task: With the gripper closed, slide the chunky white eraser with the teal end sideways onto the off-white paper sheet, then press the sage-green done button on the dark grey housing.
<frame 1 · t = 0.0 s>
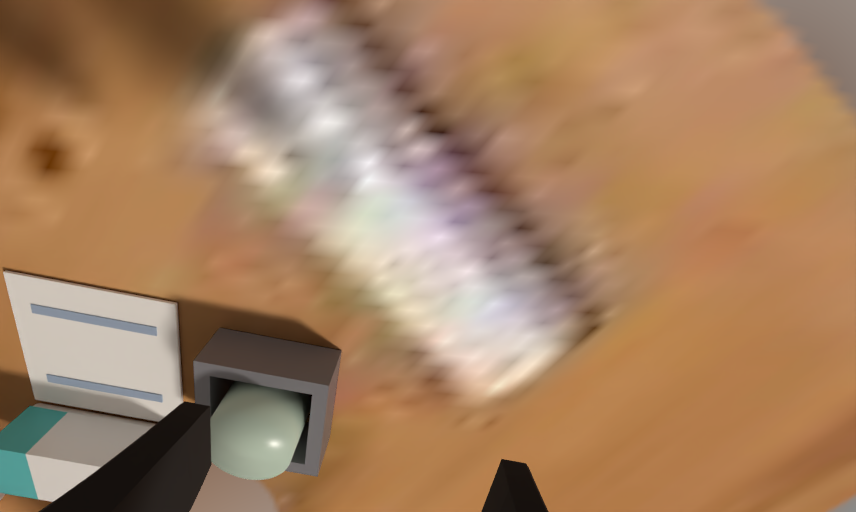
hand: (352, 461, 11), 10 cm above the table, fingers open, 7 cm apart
button housing: (278, 385, 24), on the table
eraser: (117, 431, 26), on the table
paper: (102, 353, 23), on the table
done button: (259, 422, 21), point 2 cm above the table, slide at 0.0 cm
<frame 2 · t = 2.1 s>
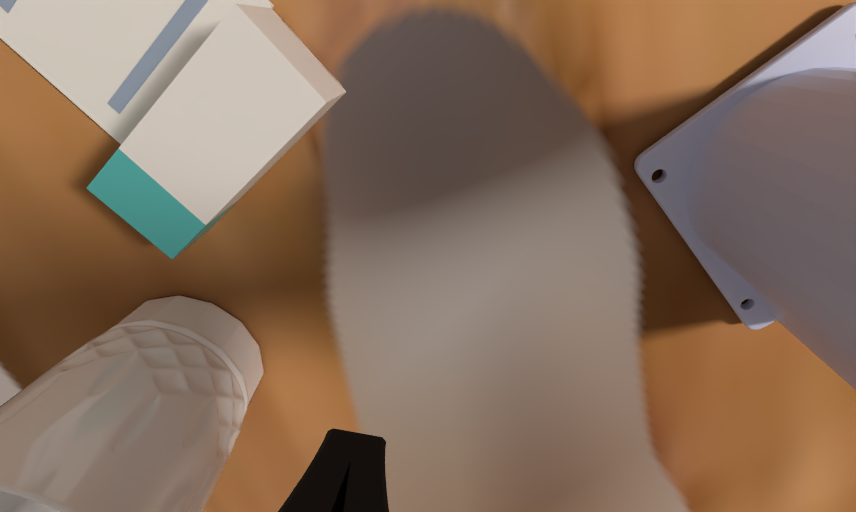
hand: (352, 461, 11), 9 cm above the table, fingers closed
eraser: (244, 127, 17), on the table
white cup: (197, 351, 22), on the table
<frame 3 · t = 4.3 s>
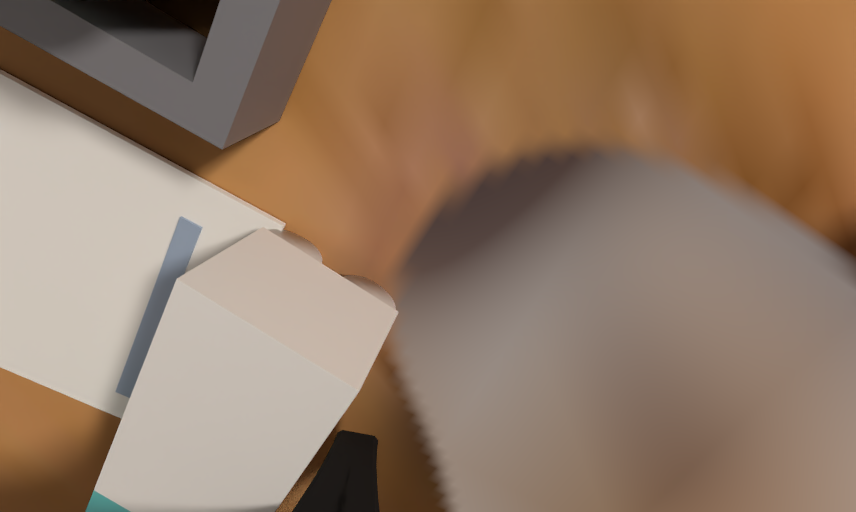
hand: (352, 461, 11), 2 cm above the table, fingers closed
eraser: (276, 373, 12), on the table, tilted 8°, touching gripper, paper
paper: (71, 272, 11), on the table
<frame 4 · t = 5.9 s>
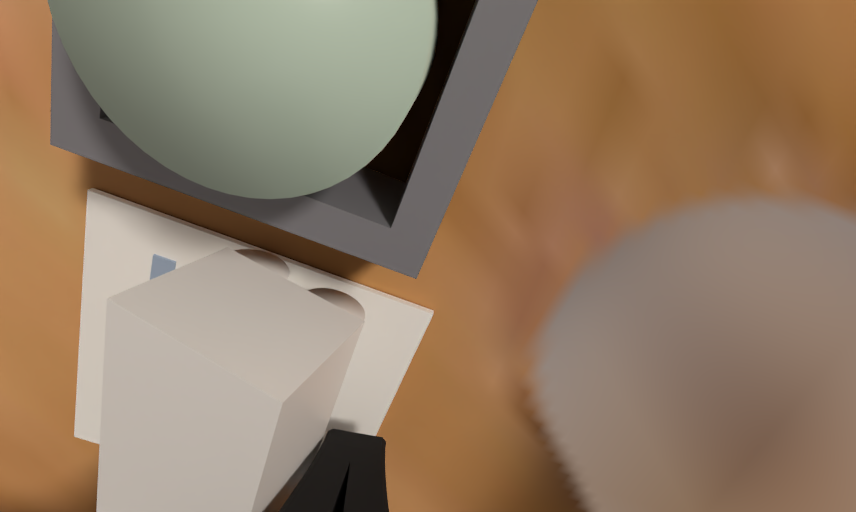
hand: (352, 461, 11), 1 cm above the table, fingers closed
button housing: (330, 22, 8), on the table
eraser: (276, 399, 12), resting on paper, tilted 17°, touching gripper
paper: (237, 377, 12), on the table
done button: (285, 18, 6), point 3 cm above the table, slide at 0.0 cm
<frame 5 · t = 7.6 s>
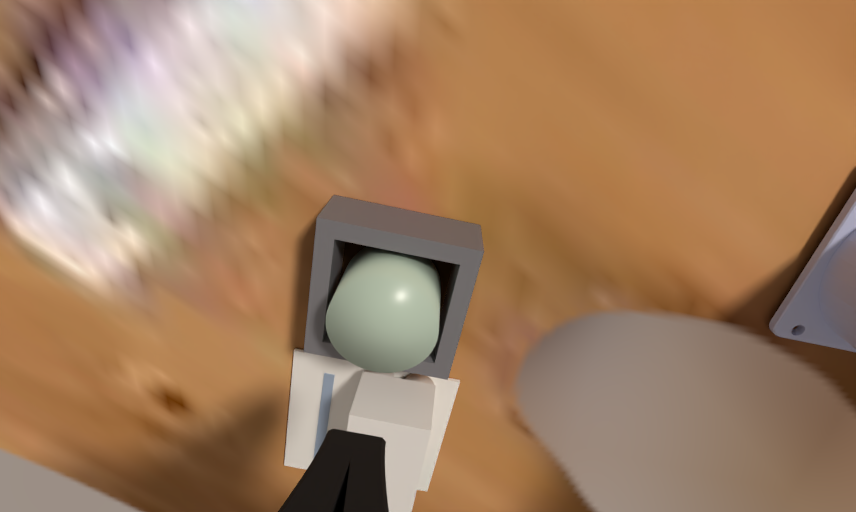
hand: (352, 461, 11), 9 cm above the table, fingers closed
button housing: (395, 274, 20), on the table
eraser: (390, 428, 23), resting on paper
paper: (366, 424, 24), on the table
done button: (387, 305, 17), point 2 cm above the table, slide at 0.0 cm
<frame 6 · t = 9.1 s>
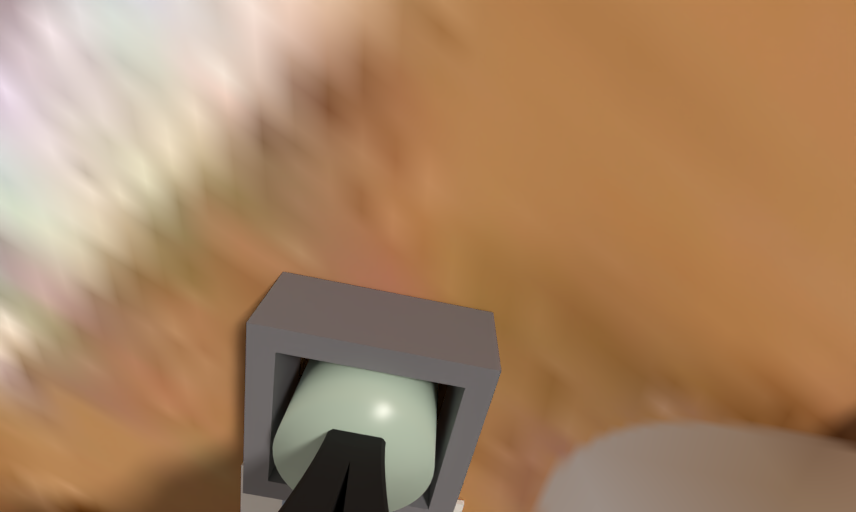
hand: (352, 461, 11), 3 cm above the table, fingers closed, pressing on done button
button housing: (374, 374, 14), on the table
done button: (364, 416, 13), point 2 cm above the table, slide at -0.8 cm, touching gripper
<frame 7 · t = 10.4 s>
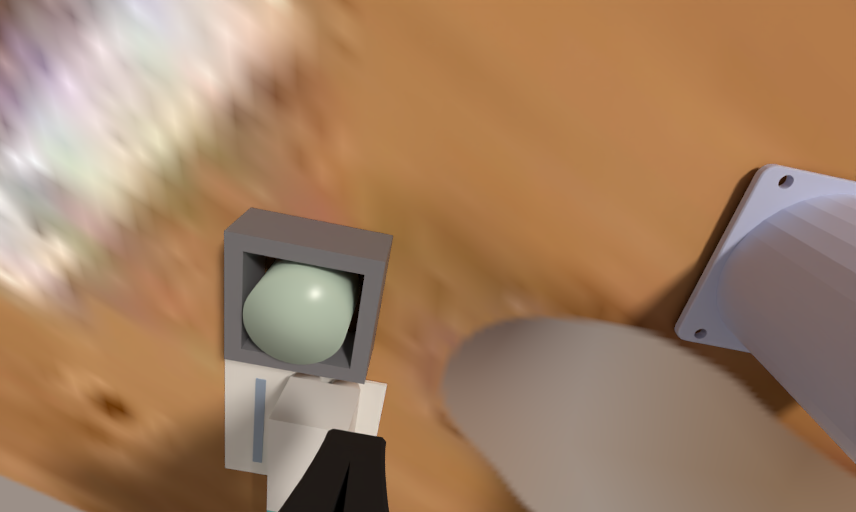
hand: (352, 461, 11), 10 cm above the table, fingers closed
button housing: (316, 282, 20), on the table
eraser: (324, 431, 24), resting on paper
paper: (301, 427, 24), on the table
done button: (305, 302, 19), point 2 cm above the table, slide at -0.8 cm
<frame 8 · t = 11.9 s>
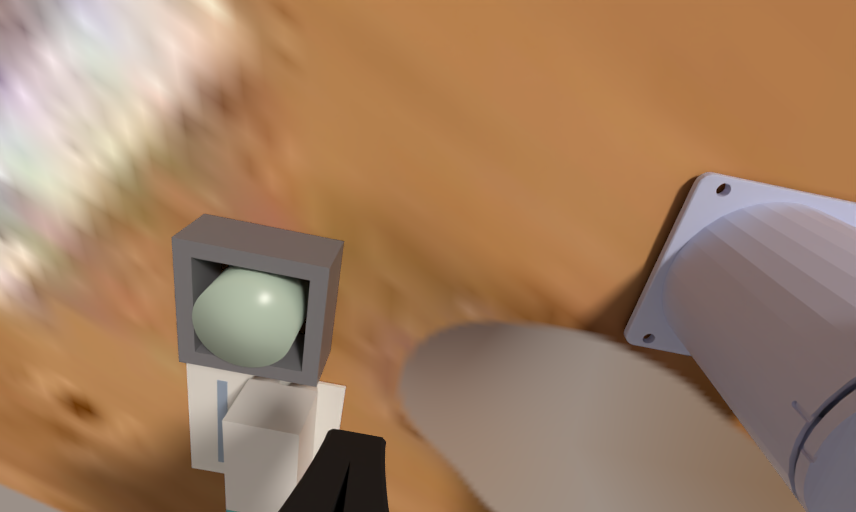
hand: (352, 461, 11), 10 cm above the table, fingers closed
button housing: (271, 287, 21), on the table
eraser: (286, 432, 25), resting on paper
paper: (264, 428, 25), on the table
done button: (257, 306, 19), point 2 cm above the table, slide at -0.8 cm
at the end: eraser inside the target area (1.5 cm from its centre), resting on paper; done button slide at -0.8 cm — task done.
